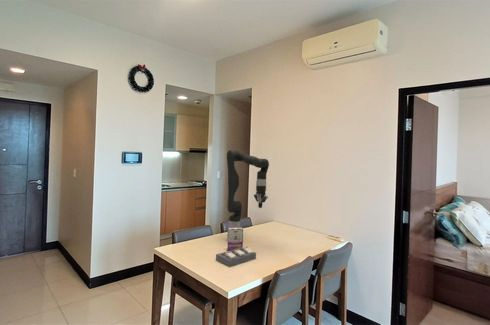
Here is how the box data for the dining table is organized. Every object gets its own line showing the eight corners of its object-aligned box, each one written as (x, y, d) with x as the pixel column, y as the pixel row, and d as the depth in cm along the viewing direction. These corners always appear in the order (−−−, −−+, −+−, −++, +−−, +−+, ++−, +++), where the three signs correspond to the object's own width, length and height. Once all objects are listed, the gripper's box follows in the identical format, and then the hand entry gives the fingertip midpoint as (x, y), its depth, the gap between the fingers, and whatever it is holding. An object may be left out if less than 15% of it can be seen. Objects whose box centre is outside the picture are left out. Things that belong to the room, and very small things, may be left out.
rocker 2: (234, 252, 185) (234, 250, 185) (238, 251, 188) (239, 249, 187) (240, 256, 181) (240, 254, 180) (244, 255, 183) (244, 253, 183)
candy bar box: (241, 248, 209) (242, 227, 209) (242, 250, 204) (243, 228, 204) (226, 248, 207) (227, 227, 207) (227, 251, 202) (228, 229, 202)
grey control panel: (215, 260, 183) (216, 254, 183) (241, 252, 200) (242, 247, 200) (229, 266, 173) (229, 260, 173) (255, 258, 190) (256, 252, 190)
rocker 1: (225, 255, 179) (225, 252, 179) (229, 253, 182) (230, 251, 182) (230, 259, 175) (231, 257, 175) (235, 258, 178) (236, 255, 178)
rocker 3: (242, 249, 190) (243, 247, 190) (247, 248, 193) (247, 246, 193) (248, 254, 186) (249, 252, 186) (252, 253, 189) (253, 251, 189)
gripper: (271, 185, 206) (269, 208, 206) (258, 183, 215) (257, 205, 215) (264, 186, 200) (263, 209, 201) (251, 184, 210) (250, 206, 210)
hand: (260, 207), depth 208 cm, fingers closed
